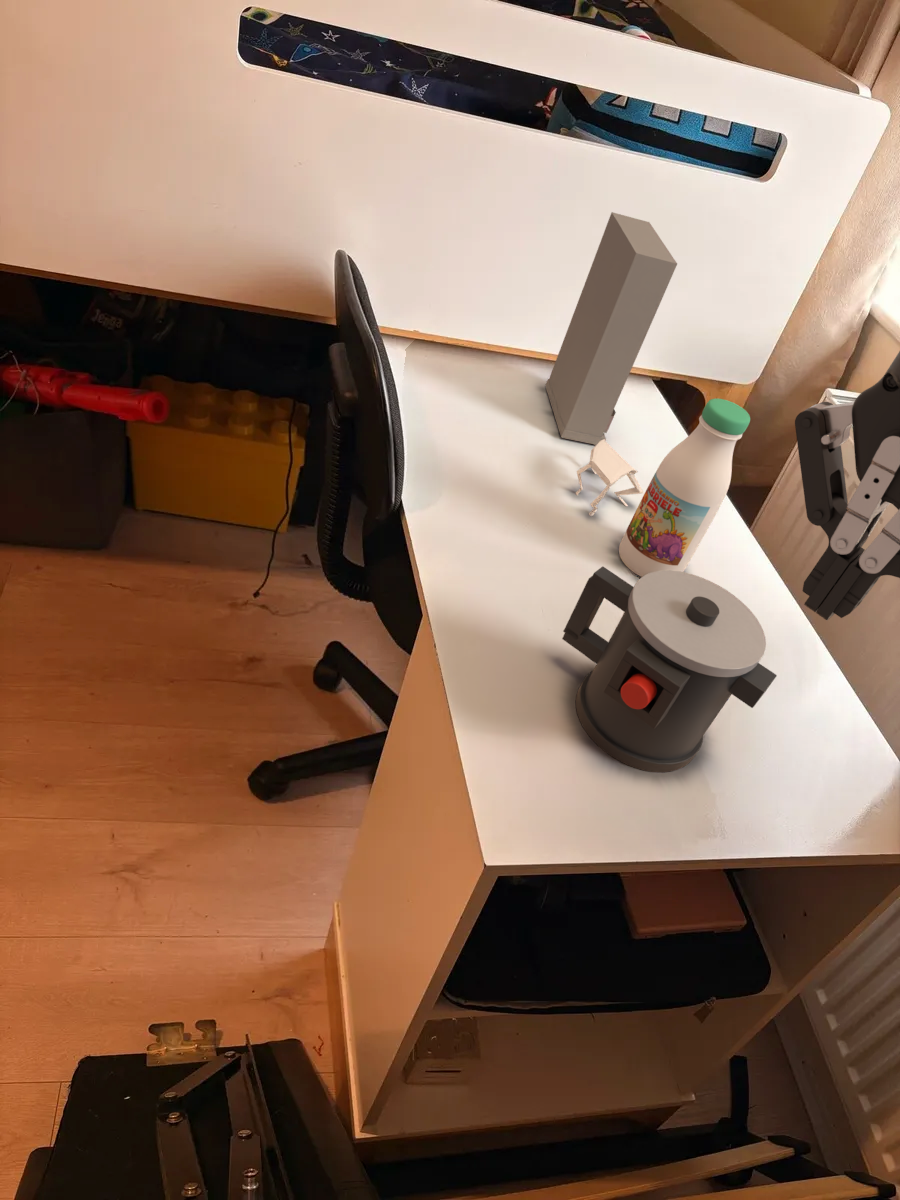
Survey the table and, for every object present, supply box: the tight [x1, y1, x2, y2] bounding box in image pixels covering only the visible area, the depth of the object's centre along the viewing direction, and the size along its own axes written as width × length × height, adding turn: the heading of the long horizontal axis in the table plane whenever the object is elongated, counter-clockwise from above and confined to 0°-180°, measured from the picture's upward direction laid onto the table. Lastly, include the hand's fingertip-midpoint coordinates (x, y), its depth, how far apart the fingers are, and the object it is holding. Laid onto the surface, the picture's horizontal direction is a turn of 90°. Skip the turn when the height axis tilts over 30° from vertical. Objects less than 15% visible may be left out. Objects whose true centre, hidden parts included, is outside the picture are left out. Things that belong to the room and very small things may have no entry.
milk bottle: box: [618, 398, 751, 578], centre depth 95 cm, size 8×8×20 cm
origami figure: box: [575, 439, 644, 517], centre depth 109 cm, size 12×8×5 cm
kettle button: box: [621, 674, 657, 709], centre depth 71 cm, size 2×2×2 cm
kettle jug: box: [561, 566, 777, 773], centre depth 77 cm, size 13×17×14 cm
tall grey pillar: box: [544, 211, 678, 446], centre depth 115 cm, size 14×6×25 cm, turn 4°
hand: (820, 607), depth 49 cm, fingers closed
